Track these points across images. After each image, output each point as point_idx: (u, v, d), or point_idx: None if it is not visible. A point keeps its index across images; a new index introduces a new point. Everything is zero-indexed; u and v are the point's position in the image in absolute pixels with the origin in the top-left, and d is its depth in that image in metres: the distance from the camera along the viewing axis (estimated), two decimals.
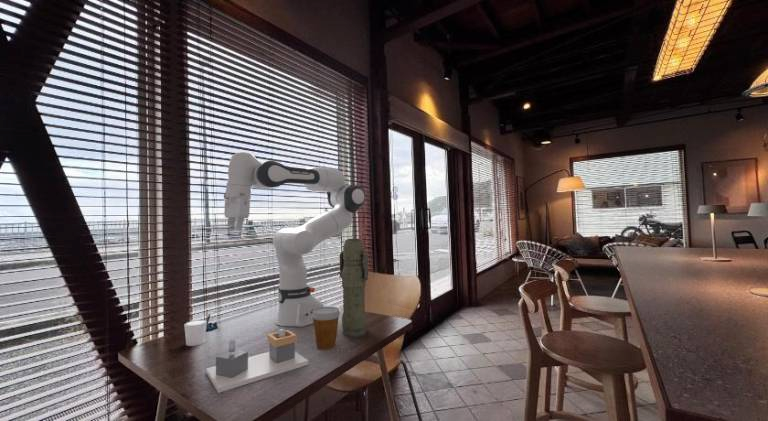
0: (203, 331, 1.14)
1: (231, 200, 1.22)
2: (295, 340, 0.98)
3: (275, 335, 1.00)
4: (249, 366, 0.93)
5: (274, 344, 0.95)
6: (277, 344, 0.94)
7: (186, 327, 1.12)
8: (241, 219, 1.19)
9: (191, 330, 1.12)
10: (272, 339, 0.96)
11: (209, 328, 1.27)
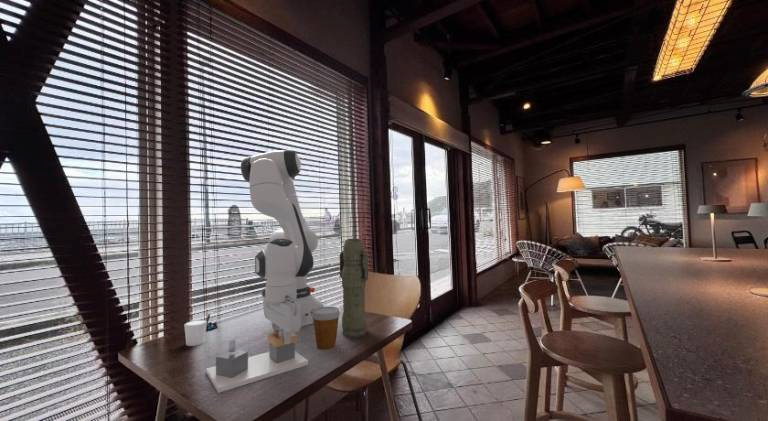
0: (203, 331, 1.14)
1: (274, 305, 0.96)
2: (295, 340, 0.98)
3: (275, 335, 1.00)
4: (249, 366, 0.93)
5: (274, 344, 0.95)
6: (277, 344, 0.94)
7: (186, 327, 1.12)
8: None
9: (191, 330, 1.12)
10: (272, 339, 0.96)
11: (209, 328, 1.27)
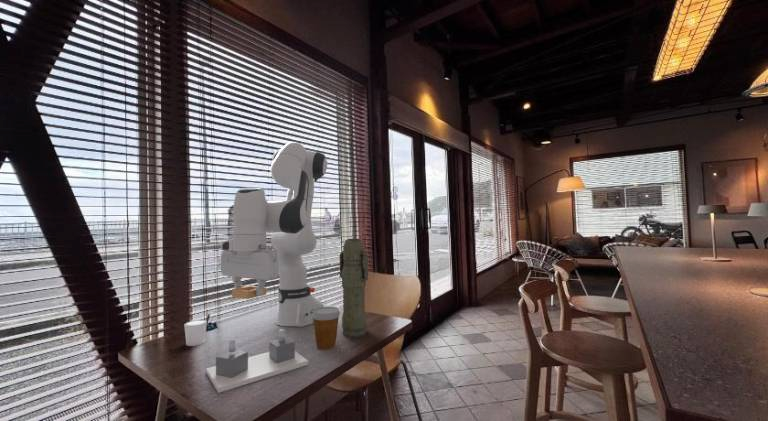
0: (203, 331, 1.14)
1: (245, 255, 0.90)
2: (265, 293, 0.94)
3: (240, 290, 0.93)
4: (249, 366, 0.93)
5: (245, 296, 0.89)
6: (249, 296, 0.89)
7: (186, 327, 1.12)
8: (263, 280, 0.90)
9: (191, 330, 1.12)
10: (241, 292, 0.89)
11: (209, 328, 1.28)
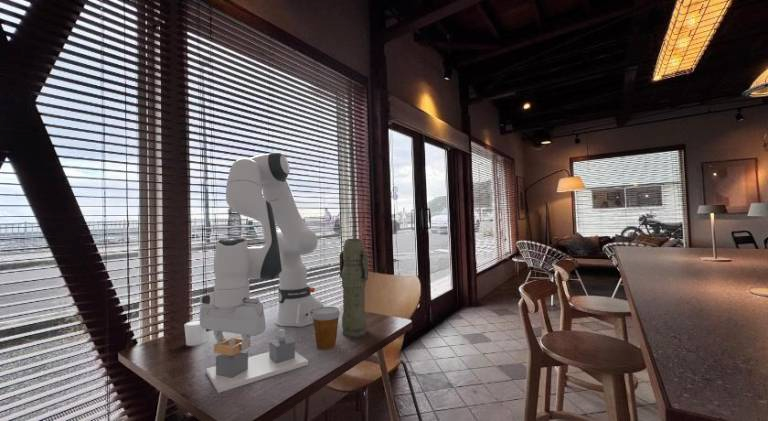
0: (203, 331, 1.14)
1: (228, 310, 0.87)
2: (249, 345, 0.91)
3: (222, 344, 0.90)
4: (249, 366, 0.93)
5: (230, 353, 0.86)
6: (234, 352, 0.86)
7: (186, 327, 1.12)
8: (249, 334, 0.88)
9: (191, 330, 1.12)
10: (225, 348, 0.87)
11: None
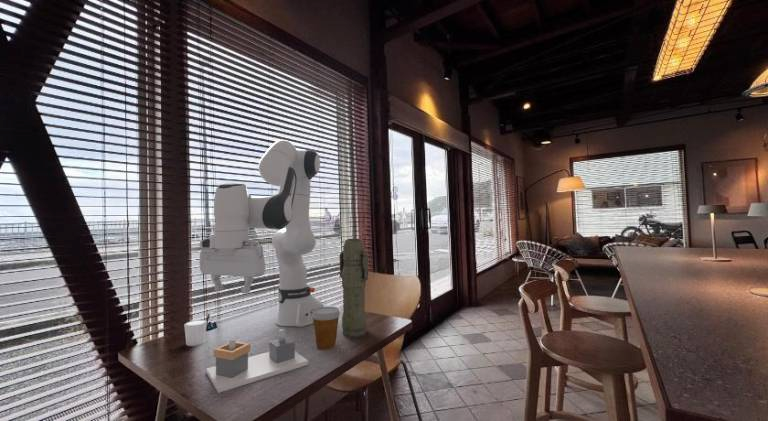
0: (203, 331, 1.14)
1: (228, 253, 0.87)
2: (249, 349, 0.91)
3: (222, 349, 0.90)
4: (249, 366, 0.93)
5: (230, 357, 0.86)
6: (234, 356, 0.86)
7: (186, 327, 1.12)
8: (251, 277, 0.88)
9: (191, 330, 1.12)
10: (225, 352, 0.87)
11: (209, 327, 1.28)
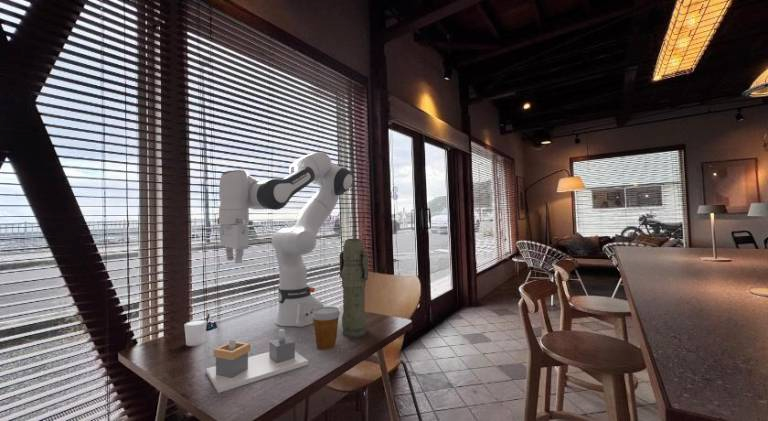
0: (203, 331, 1.14)
1: (226, 228, 1.04)
2: (249, 349, 0.91)
3: (222, 349, 0.90)
4: (249, 366, 0.93)
5: (230, 357, 0.86)
6: (234, 356, 0.86)
7: (186, 327, 1.12)
8: (240, 250, 1.02)
9: (191, 330, 1.12)
10: (225, 352, 0.87)
11: (209, 327, 1.28)
